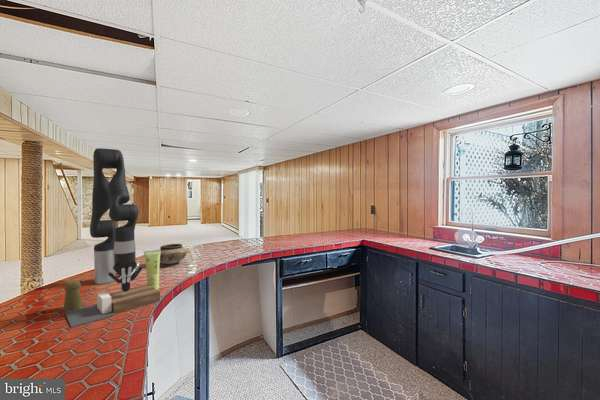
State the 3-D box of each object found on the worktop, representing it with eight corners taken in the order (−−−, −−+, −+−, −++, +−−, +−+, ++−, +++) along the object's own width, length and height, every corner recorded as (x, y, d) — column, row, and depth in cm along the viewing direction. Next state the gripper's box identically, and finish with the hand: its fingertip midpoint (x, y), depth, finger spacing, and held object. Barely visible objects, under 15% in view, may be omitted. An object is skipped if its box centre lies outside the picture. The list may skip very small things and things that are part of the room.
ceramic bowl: (194, 265, 182) (196, 243, 185) (182, 266, 165) (185, 242, 168) (159, 265, 182) (161, 244, 186) (144, 266, 165) (147, 242, 168)
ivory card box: (106, 305, 111) (97, 307, 109) (105, 291, 111) (96, 293, 109) (111, 311, 105) (102, 314, 103) (111, 296, 105) (102, 298, 103)
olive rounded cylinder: (67, 306, 111) (66, 280, 111) (84, 303, 113) (84, 278, 113) (60, 312, 105) (59, 285, 105) (78, 309, 107) (78, 283, 107)
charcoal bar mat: (64, 313, 104) (64, 312, 104) (104, 303, 114) (104, 302, 114) (71, 327, 93) (71, 326, 93) (115, 315, 103) (115, 314, 103)
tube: (150, 292, 126) (149, 252, 126) (144, 290, 129) (143, 250, 128) (161, 288, 131) (160, 249, 131) (155, 286, 134) (154, 248, 133)
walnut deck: (105, 304, 113) (105, 294, 113) (148, 292, 126) (148, 284, 125) (114, 314, 104) (113, 304, 103) (160, 300, 116) (159, 292, 116)
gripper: (139, 247, 119) (140, 285, 120) (104, 252, 110) (104, 293, 110) (145, 249, 114) (145, 289, 115) (108, 255, 105) (109, 298, 105)
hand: (125, 291), depth 112 cm, fingers closed
